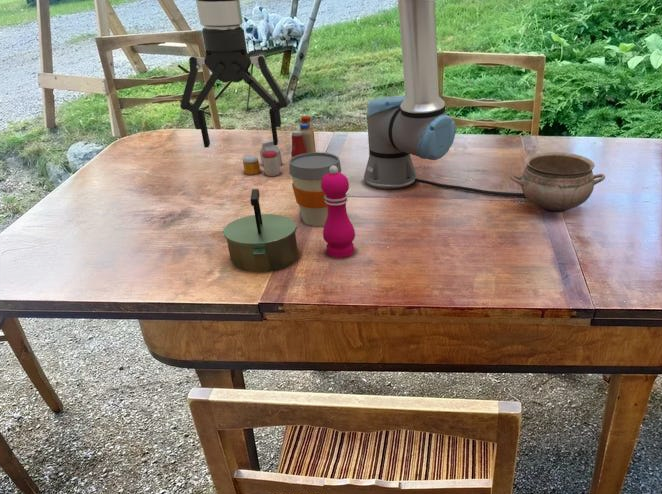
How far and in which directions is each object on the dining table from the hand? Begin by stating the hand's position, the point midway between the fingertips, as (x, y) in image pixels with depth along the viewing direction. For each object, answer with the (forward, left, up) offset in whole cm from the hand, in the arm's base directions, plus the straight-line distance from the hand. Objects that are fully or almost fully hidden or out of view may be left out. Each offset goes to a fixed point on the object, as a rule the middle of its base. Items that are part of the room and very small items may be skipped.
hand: (241, 144), depth 123 cm
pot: (-1, +2, -25) cm, 25 cm away
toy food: (-5, -61, -25) cm, 66 cm away
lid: (-1, +2, -18) cm, 18 cm away
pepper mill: (-18, +2, -25) cm, 31 cm away
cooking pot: (-76, -16, -25) cm, 82 cm away
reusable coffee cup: (-14, -18, -25) cm, 34 cm away
